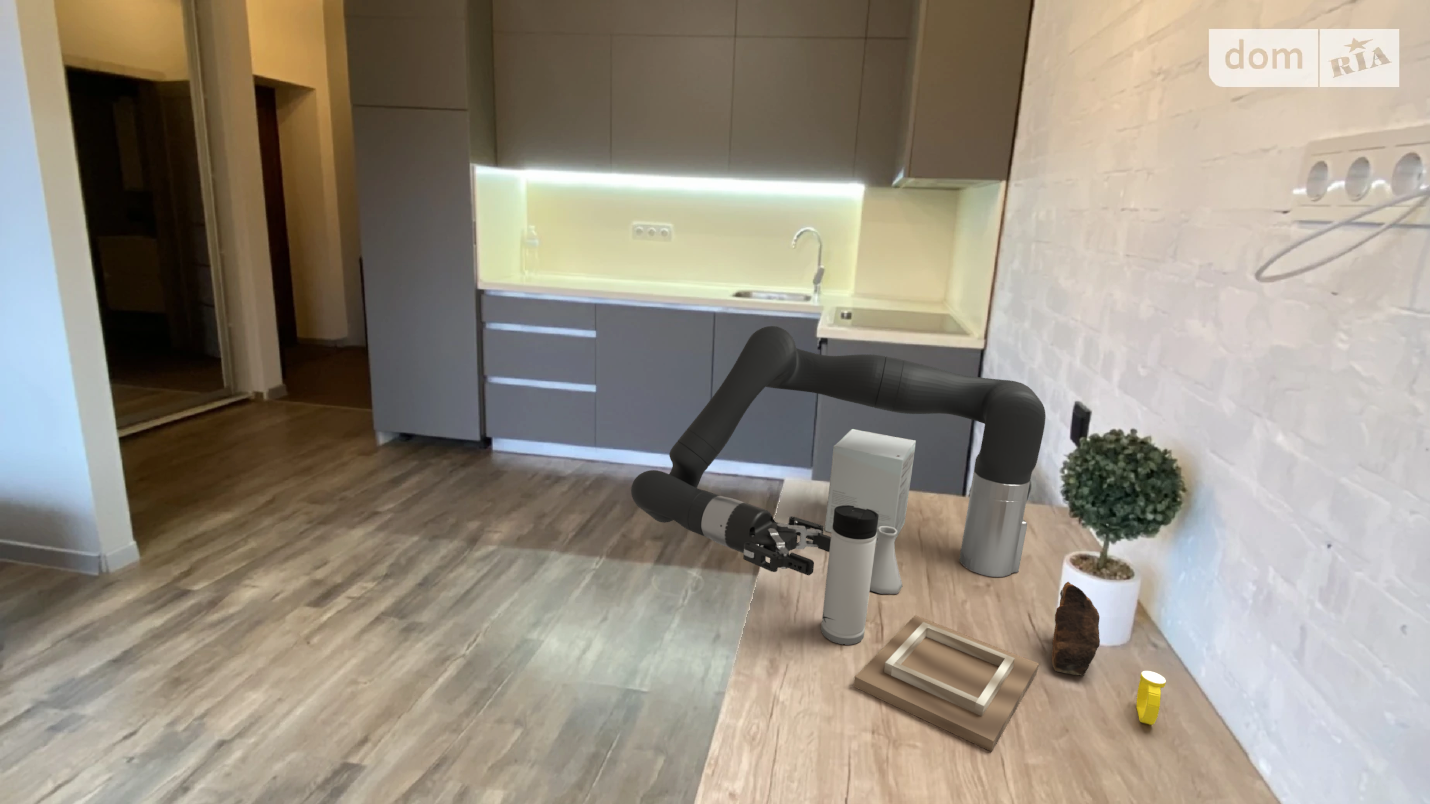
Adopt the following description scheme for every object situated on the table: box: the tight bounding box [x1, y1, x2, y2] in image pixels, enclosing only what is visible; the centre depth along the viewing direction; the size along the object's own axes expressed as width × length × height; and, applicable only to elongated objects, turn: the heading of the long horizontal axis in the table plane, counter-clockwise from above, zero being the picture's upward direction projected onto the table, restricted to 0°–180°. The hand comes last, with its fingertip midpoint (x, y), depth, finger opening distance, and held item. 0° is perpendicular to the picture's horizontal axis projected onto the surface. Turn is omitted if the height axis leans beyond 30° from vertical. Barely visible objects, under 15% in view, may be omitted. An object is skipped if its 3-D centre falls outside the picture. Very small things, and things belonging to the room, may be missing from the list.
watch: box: [1135, 670, 1167, 726], centre depth 95 cm, size 6×3×6 cm, turn 158°
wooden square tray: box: [853, 614, 1040, 753], centre depth 100 cm, size 20×18×3 cm
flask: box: [869, 526, 903, 595], centre depth 123 cm, size 7×7×10 cm
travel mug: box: [820, 505, 879, 646], centre depth 107 cm, size 6×7×20 cm
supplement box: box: [823, 428, 917, 545], centre depth 144 cm, size 13×13×18 cm
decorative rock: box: [1051, 581, 1101, 677], centre depth 106 cm, size 12×6×11 cm, turn 152°
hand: (827, 558), depth 109 cm, fingers open, 8 cm apart
